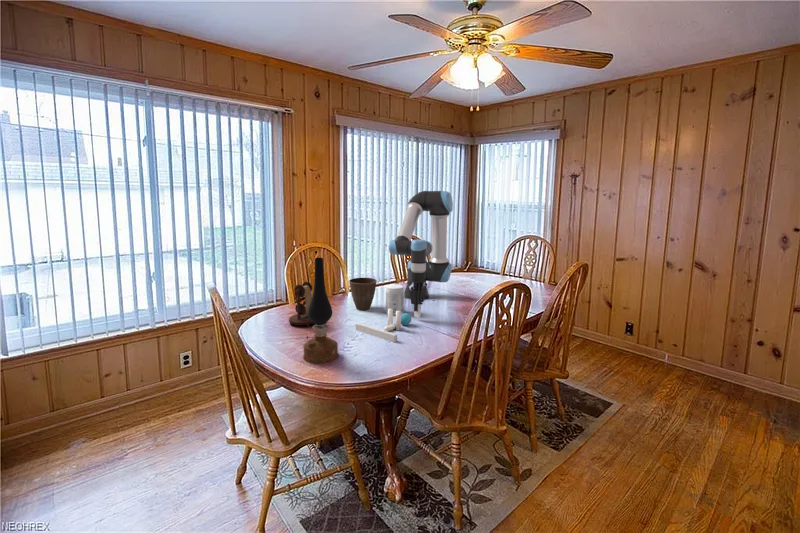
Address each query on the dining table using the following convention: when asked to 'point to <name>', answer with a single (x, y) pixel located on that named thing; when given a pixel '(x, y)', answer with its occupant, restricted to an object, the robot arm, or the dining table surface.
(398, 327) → the pin
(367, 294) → the plant pot
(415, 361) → the dining table surface
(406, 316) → the ball
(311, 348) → the oil lamp
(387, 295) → the supplement tub
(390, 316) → the pin
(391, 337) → the back wall
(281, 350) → the dining table surface
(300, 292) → the dark brown upright piece
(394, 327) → the front pin
